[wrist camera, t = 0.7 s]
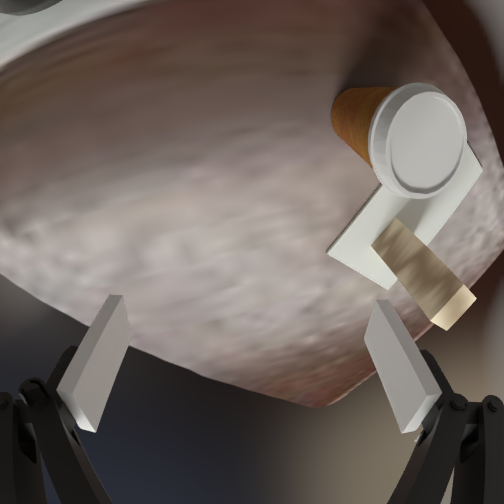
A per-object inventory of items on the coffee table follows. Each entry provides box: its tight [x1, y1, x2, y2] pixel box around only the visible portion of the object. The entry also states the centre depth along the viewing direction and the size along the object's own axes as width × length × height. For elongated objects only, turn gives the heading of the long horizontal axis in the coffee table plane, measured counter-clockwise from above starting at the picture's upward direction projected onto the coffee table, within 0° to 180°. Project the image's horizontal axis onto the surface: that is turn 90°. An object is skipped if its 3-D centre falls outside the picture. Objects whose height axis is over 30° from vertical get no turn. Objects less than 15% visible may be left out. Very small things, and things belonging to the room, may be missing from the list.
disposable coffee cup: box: [331, 83, 467, 199], centre depth 24 cm, size 10×10×12 cm
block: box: [371, 217, 476, 330], centre depth 32 cm, size 5×5×14 cm
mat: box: [326, 144, 483, 290], centre depth 36 cm, size 24×14×1 cm, turn 145°
